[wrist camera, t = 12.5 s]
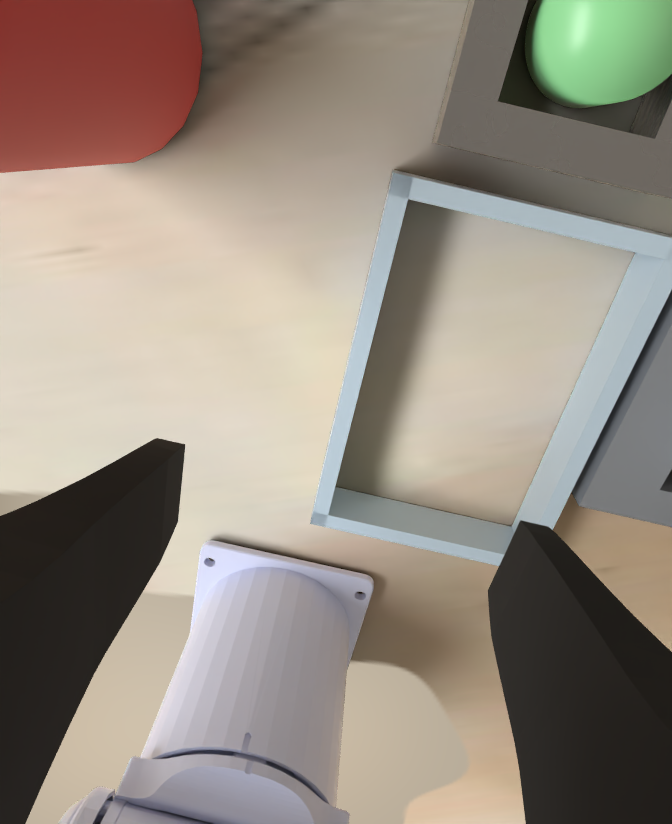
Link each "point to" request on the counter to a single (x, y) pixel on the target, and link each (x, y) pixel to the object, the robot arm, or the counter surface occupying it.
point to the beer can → (94, 80)
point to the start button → (598, 49)
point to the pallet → (637, 439)
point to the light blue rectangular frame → (587, 406)
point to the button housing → (545, 115)
